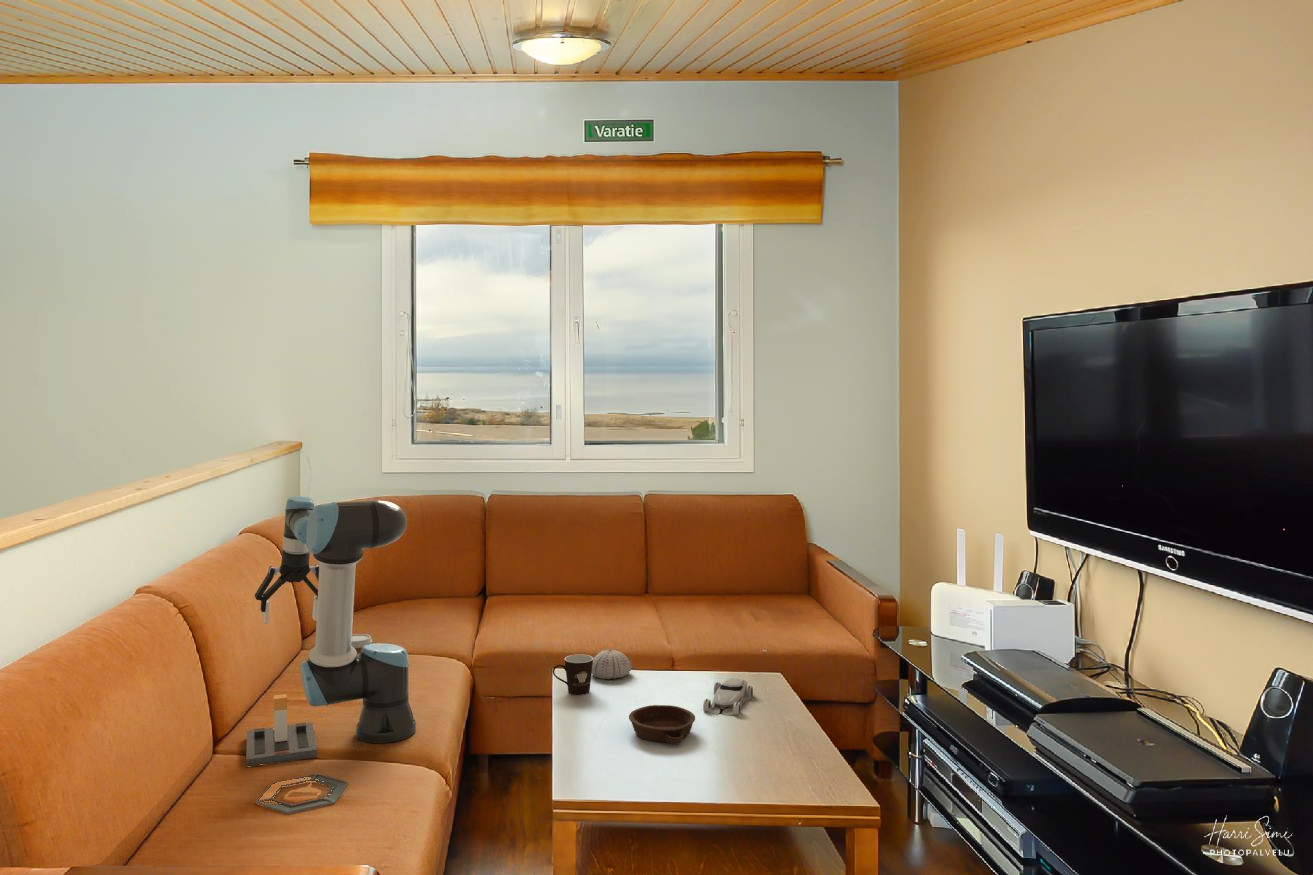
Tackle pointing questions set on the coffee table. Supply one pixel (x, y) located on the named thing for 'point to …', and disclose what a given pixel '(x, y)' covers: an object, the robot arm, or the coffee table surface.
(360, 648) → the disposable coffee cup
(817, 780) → the coffee table surface
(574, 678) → the coffee mug
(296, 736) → the panel
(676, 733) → the dish
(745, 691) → the car model
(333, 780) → the hexagonal plaque
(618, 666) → the sea urchin shell
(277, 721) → the breaker lever
